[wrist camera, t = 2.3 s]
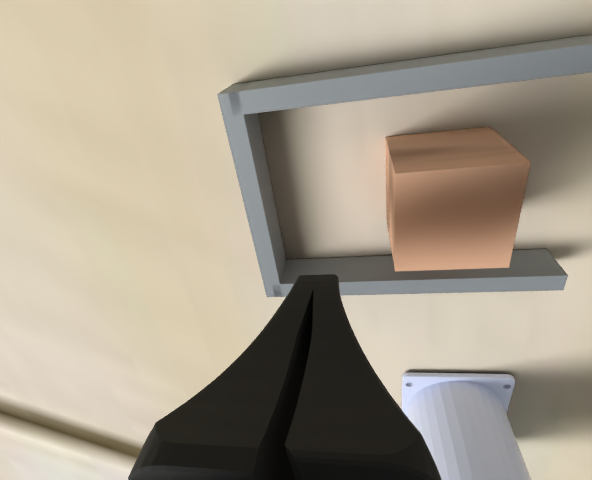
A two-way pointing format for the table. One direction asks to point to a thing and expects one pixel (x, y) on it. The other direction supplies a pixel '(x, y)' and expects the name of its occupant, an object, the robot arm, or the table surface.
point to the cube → (453, 199)
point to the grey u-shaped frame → (370, 85)
